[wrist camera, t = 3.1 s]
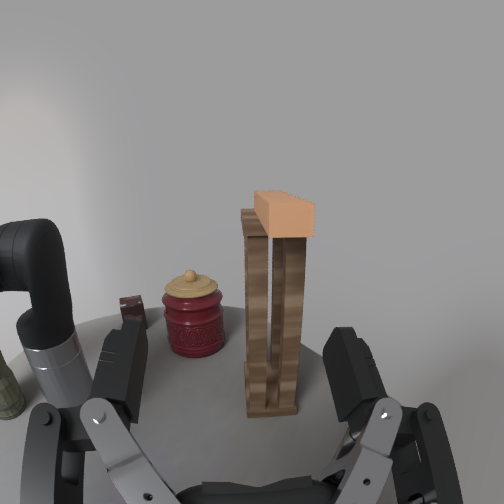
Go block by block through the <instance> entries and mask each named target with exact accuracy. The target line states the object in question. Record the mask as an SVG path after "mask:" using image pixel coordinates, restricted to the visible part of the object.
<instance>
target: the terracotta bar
mask: <svg viewBox="0 0 504 504" xmlns="http://www.w3.org/2000/svg"><path fill="white" fill-rule="evenodd" d="M314 209H315V204H314V203H312V202H309V201H307V200H304V199H301V198H299V197H296V196H293V195H290V194H288V193H285V192H282V191H254V211H255V213H256V215H257V216H258V218H259V220H260V222H261V224H262V226H263V227H264V229H265V231H266V233H267V235H268V237H269V238H284V237H314V211H315V210H314Z"/></svg>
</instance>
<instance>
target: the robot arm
mask: <svg viewBox="0 0 504 504" xmlns="http://www.w3.org/2000/svg"><path fill="white" fill-rule="evenodd" d="M3 291H29V293H30V298H31V303H32V308H31V309H29V310H27V311H26V312H25V313H23V314H22V315H21V316H20V318H19V319H18V321H17V324H16V327H17V333H18V335H19V338H20V341H21V343H22V346H23V349H24V352H25V354H26V357H27V359H28V361H29V364H30V366H31V368H32V371H33V373H34V375H35V377H36V379H37V381H38V384H39V386H40V388H41V390H42V392H43V394H44V396H45V398H46V400H47V402H48V403H40V404H37V405H36V406H35V407H34V408H33V409H32V411H31V414H30V418H29V424H28V429H27V435H26V441H25V448H24V456H23V465H22V476H21V492H20V504H83V479H84V460H85V451H95V450H97V452H98V454H99V455H100V457H101V459H102V460H103V462H104V464H105V466H106V468H107V472H108V475H109V477H110V479H111V480H112V482H113V483H114V485H115V486H116V488H117V489H118V491H119V492H120V494H121V495H122V497H123V498H124V499H125V501H126V502H127V504H376V502H377V500H378V498H379V496H380V494H381V491H382V489H383V487H384V484H385V482H386V479H387V477H388V475H389V472H390V469H391V468H392V473H393V478H394V484H395V490H396V495H397V502H398V504H463V500H462V495H461V490H460V485H459V480H458V476H457V471H456V467H455V464H454V460H453V455H452V452H451V448H450V444H449V441H448V437H447V435H446V431H445V428H444V424H443V421H442V418H441V415H440V412H439V410H438V408H437V407H436V406H435V405H434V404H432V403H427V402H426V403H423V404H421V405H420V406H419V407H418V408H411V407H403V406H400V405H399V404H398V403H397V402H396V401H395V400H393V399H391V398H388V396H387V394H386V392H385V389H384V386H383V383H382V380H381V378H380V375H379V372H378V369H377V367H376V364H375V361H374V359H373V356H372V353H371V351H370V349H369V346H367V344H366V343H365V342H364V341H363V339H362V338H357V336H356V333H355V331H354V329H353V328H352V327H336V328H334V330H333V332H332V333H331V335H330V337H329V339H328V341H327V342H326V344H325V346H324V348H323V362H324V365H325V369H326V373H327V377H328V380H329V384H330V388H331V392H332V396H333V400H334V404H335V408H336V412H337V416H338V420H339V422H344V421H348V425H349V428H348V429H347V431H346V434H345V436H344V438H343V440H342V442H341V444H340V446H339V448H338V450H337V452H336V454H335V455H334V457H333V459H332V461H331V462H330V463H329V465H328V466H327V467H326V468H325V469H324V470H323V472H322V473H321V475H320V477H319V478H318V480H312V479H311V476H305V477H298V478H289V479H284V480H281V481H278V482H275V483H272V484H269V485H266V486H263V487H252V486H247V485H241V484H236V483H231V482H202V485H197V486H193V487H190V488H188V489H185V490H183V491H181V492H180V493H178V494H177V495H176V494H175V492H174V491H173V490H172V489H171V488H170V486H169V485H168V484H167V483H166V481H165V480H164V479H163V478H162V476H161V475H160V474H159V472H158V471H157V470H156V469H155V467H154V466H153V465H152V463H151V462H150V461H149V459H148V458H147V456H146V455H145V453H144V452H143V451H142V449H141V448H140V446H139V445H138V443H137V442H136V440H135V439H134V437H133V436H132V434H131V432H130V423H137V424H138V417H139V408H140V401H141V394H142V387H143V380H144V373H145V367H146V361H147V355H148V340H147V335H146V330H145V325H144V321H143V320H142V319H133V318H125V319H124V321H123V325H122V329H121V330H115V329H112V331H111V332H110V333H109V334H108V335H107V337H106V338H105V340H104V343H103V347H102V352H101V354H100V358H99V361H98V365H97V369H96V373H95V377H94V381H93V380H92V377H91V375H90V372H89V369H88V366H87V363H86V361H85V358H84V355H83V352H82V349H81V345H80V343H79V339H78V336H77V333H76V329H75V326H74V322H73V315H72V300H71V294H70V289H69V283H68V276H67V268H66V260H65V252H64V246H63V242H62V238H61V235H60V232H59V230H58V228H57V227H56V225H55V224H54V223H53V222H52V221H51V220H48V219H31V220H24V221H16V222H10V223H6V224H3V225H1V226H0V292H3ZM415 440H416V442H415ZM416 443H417V446H416ZM417 447H418V451H419V455H420V459H421V463H420V459H419V455H418V451H417Z"/></svg>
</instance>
